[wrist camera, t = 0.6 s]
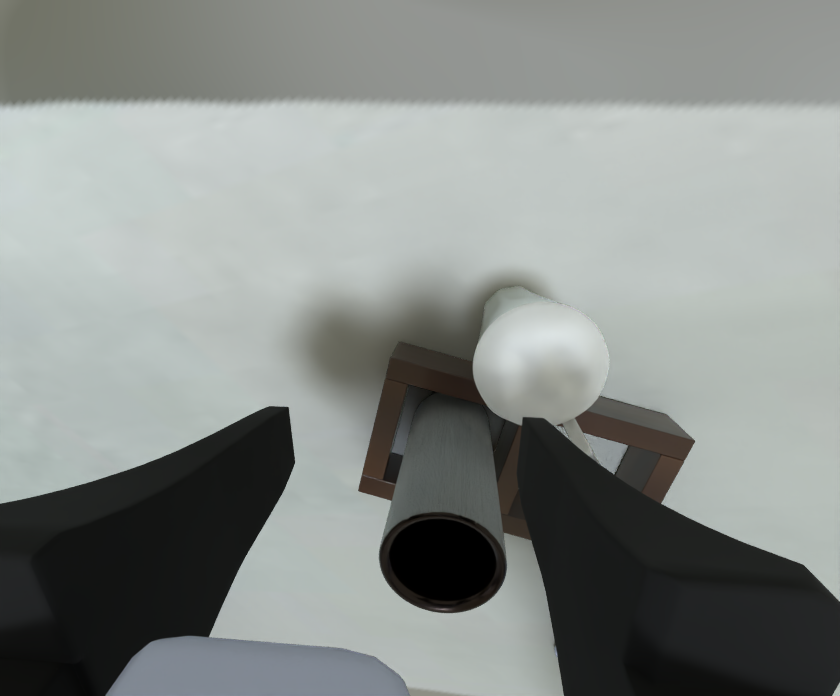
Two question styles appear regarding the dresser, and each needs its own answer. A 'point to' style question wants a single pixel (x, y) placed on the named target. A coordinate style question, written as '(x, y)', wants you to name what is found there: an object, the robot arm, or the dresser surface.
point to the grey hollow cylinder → (445, 511)
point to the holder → (519, 434)
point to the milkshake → (539, 361)
